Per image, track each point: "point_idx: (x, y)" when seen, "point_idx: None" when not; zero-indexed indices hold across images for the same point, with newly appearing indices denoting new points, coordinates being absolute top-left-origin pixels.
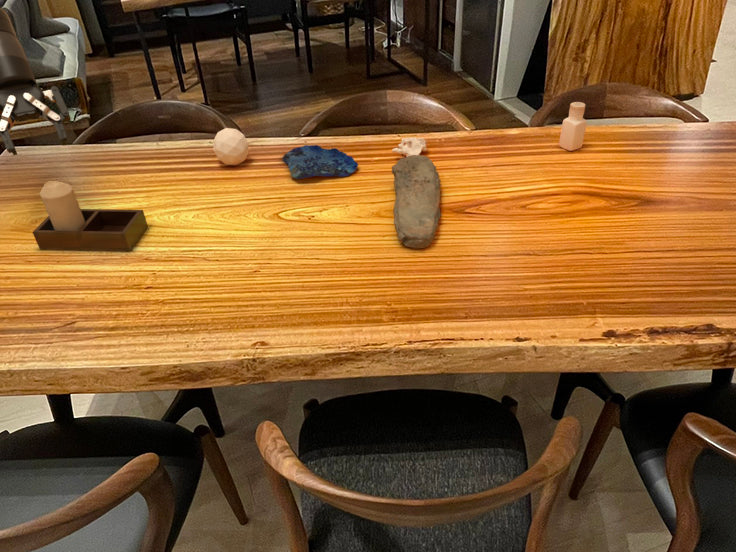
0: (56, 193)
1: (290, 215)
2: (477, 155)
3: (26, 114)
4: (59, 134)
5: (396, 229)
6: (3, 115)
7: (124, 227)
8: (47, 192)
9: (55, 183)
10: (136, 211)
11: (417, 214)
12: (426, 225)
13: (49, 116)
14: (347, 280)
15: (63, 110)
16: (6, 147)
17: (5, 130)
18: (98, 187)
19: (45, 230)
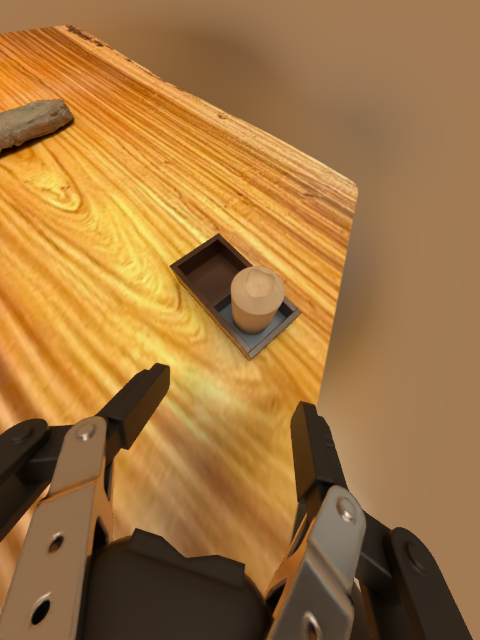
0: (264, 268)
1: (71, 202)
2: None
3: (184, 560)
4: (153, 376)
5: (55, 120)
6: (339, 600)
7: (198, 288)
8: (276, 275)
9: (252, 295)
10: (177, 267)
11: (25, 113)
12: (41, 101)
13: (103, 454)
14: (134, 123)
15: (9, 450)
16: (326, 424)
17: (325, 493)
18: (147, 454)
19: (286, 303)
